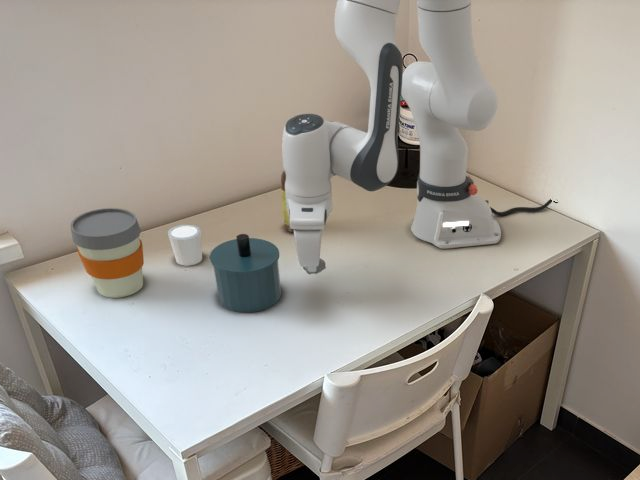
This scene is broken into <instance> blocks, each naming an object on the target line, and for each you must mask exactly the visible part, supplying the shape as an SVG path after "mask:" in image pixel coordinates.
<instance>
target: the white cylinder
mask: <svg viewBox="0 0 640 480" xmlns="http://www.w3.org/2000/svg"><path fill="white" fill-rule="evenodd" d="M167 235H168V239H169V242H170V246H171V248H172V249H171V250H172V252H173V255H174V258H175V261H176V263H177V264H178V265H181V266H186V267H189V266H194V265H195V266H196V265H197V264H199V263H201V262H202V260H203V247H202V246H203V245H202V232H201V228H200V227H198V226H197V225H193V224H179V225H175V226H173V227H171V228H169V230H168V231H167Z"/></svg>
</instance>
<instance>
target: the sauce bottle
mask: <svg viewBox="0 0 640 480" xmlns="http://www.w3.org/2000/svg"><path fill="white" fill-rule="evenodd" d="M285 182H286V173H285V171H284V170H283V171H282V173H281V176H280V183H281V187H280V190H281V191H280V193H281V204H282V205H281V206H282V217H283V219H282V220H283V224H284V229H285V230H286V231H288V232H290V233H294V229H291V228H290V221H289V214H288V212H287V208H286V196H285Z"/></svg>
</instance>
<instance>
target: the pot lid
mask: <svg viewBox="0 0 640 480" xmlns="http://www.w3.org/2000/svg"><path fill="white" fill-rule="evenodd" d="M279 259H280V249H279V247H277V246H276V245H275V244H274V243H273V242H271V241H269V240H266V239H262V238H256V237H250V236H249V234H247V233H240V234H238V235H236V238H235V239H231V240H227V241H225V242H222V243H219V244H218V245H216V246H215V247H214V248H213V249H211V251H210V254H209V261H210V263H211V265H212V267H213V268H214V267H215V268H217V269H219V270H221V271H223V272H227V273H232V274H249V273H255V272H259V271H263V270H265V269H267V268H269V267H271V266H273V265H274V264H275V263H276V262H277V261H278V262H279Z"/></svg>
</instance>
